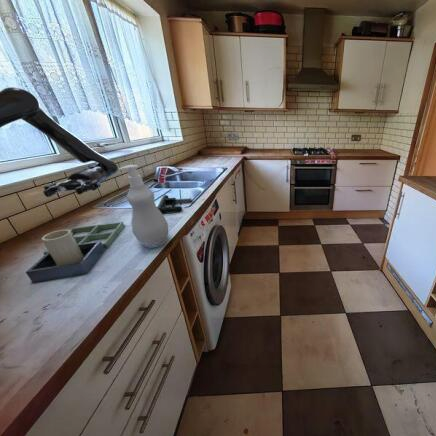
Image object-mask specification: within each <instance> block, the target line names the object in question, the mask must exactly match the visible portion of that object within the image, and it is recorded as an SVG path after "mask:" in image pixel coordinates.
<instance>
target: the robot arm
mask: <svg viewBox="0 0 436 436" xmlns="http://www.w3.org/2000/svg"><path fill="white" fill-rule="evenodd" d="M19 120H22V121H24V122H25V123H27V124H28V125H30V126H32V127H33V128H34V129H37V130H38V131H39V132H40V133H42V134H44V135H45V136H46V137H48V138H49V139H50V140H51V141H53V142H54V143H55V144H56V145H58V146H59V147H60V148H61V149H63V150H64V151H65V152H67V153H68V154H69V155H70V156H72V157H73V158H74V159H76V160H77V161H79V162H80V163H81V164H87V163H89V162H95V164H93V165H91V166H88V167H86V168H82V169H79V170H77V171H75V172H73V173H71V174H70V175H69V176H68V178H67V180H64V181H61V182H59V181H54V182H52V183H49V184H47V185H44V186H43V189H44V190H43V194H44V196H45V197H46V198H50V197H52V196H54V195H56V194H59V193H60V194H65V193H68V192H76V195H82V194H84V193H87V192H90V191H96V190H98V189H99V188H100V187H102V186H101V183H102V182H104V181H106V180H107V179H108V178H110V177H112V176H113V175H115V174H116V173H117V172H118V171H119V170H118V169H119V166H118V164H117V163H116V162H115V161H114V160H112V159H111V158H109V157H106V156H105V155H102V154H100V153H99V152H97V151H96V150H95V149H92V148H91V147H90V146H89V145H88V144H87V143H85V142H84V141H83V140H81V138H79V137H78V136H76V135H75V134H74V133H71V132H70V131H69V130H67V129H66V128H65V127H63V126H62V125H60V124H59V123H58V122H57V121H55V120H54V119H53V118H52V117H50V116H49V115H48V114H47V113H46V111H44V109H42V108H41V105H40V101H39V99H38V98H37V97H36V96H35V94H33V93H32V92H30V91H29V90H26V89H24V88H22V87H13V86H10V87H9V86H8V87H5V88H3V89H1V90H0V129H1V128H3V127H4V126H6V125H8V124H11V123H14V122H17V121H19Z"/></svg>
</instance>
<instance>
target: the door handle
mask: <svg viewBox="0 0 436 436" xmlns="http://www.w3.org/2000/svg"><path fill="white" fill-rule="evenodd" d="M192 202H193V199H192V197H190V198H176V197H169V195H167V194H164V195H163V196H162V197H161V198H160V201H159V203H158V205H156V207H157V208H158V209H159V210H160V212H161V213H162V214H163V213H177V212H181V211H182V210H183V208H182V206H181V205H177V204H186V203H187V204H188V203H192ZM176 205H177V206H176Z"/></svg>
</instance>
